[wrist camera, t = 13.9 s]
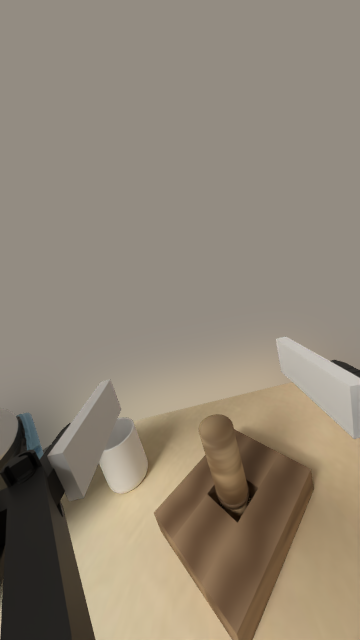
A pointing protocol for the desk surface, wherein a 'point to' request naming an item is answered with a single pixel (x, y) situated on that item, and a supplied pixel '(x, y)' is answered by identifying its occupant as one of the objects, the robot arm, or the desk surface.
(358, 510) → the desk surface
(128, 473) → the mug
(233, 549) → the seat board
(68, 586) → the robot arm
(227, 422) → the oak leg
